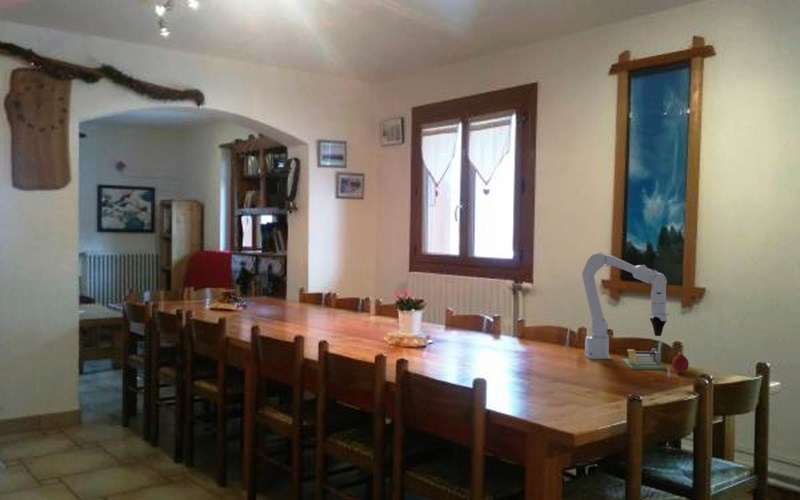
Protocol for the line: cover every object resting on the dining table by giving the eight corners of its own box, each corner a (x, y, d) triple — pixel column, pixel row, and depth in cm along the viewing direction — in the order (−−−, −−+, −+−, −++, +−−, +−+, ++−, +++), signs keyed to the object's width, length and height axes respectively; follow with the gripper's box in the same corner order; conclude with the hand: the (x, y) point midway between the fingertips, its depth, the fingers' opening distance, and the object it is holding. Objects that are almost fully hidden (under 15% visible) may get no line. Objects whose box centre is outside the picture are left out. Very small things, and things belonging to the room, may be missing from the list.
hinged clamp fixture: (631, 369, 262) (631, 354, 262) (621, 361, 276) (622, 346, 276) (665, 369, 261) (665, 354, 261) (654, 361, 275) (654, 346, 275)
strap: (630, 354, 267) (630, 352, 267) (627, 352, 271) (627, 349, 271) (659, 355, 266) (659, 352, 266) (655, 353, 270) (655, 350, 270)
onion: (688, 372, 256) (689, 351, 256) (688, 375, 251) (688, 354, 251) (672, 371, 259) (672, 350, 258) (671, 374, 254) (671, 353, 253)
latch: (629, 364, 265) (629, 351, 265) (626, 362, 270) (626, 349, 270) (635, 364, 265) (636, 351, 265) (632, 362, 270) (633, 349, 269)
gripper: (674, 305, 267) (673, 339, 268) (662, 300, 282) (662, 332, 282) (656, 305, 268) (655, 339, 268) (645, 300, 282) (645, 332, 283)
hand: (657, 335), depth 275 cm, fingers closed
